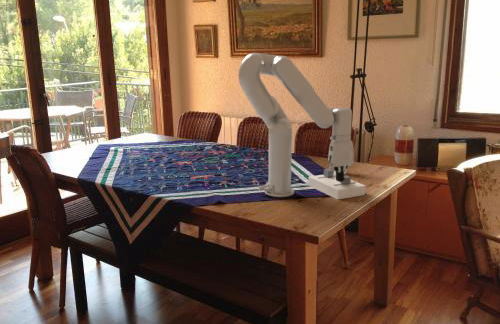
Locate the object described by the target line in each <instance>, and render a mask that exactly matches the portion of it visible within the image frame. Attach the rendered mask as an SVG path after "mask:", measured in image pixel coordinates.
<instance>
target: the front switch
mask: <svg viewBox="0 0 500 324" xmlns="http://www.w3.org/2000/svg"><path fill="white" fill-rule="evenodd" d="M351 180H352V177H351V176H349V175H347V174H345V175H344V181H343V182H342V181H341V182H340V183H342V184H351Z"/></svg>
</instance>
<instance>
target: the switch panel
mask: <svg viewBox="0 0 500 324" xmlns="http://www.w3.org/2000/svg"><path fill="white" fill-rule="evenodd" d="M307 178H308V181H307V185H308V186H309V187H311V188H313V189H315V190H317V191H319V192H321V193H323V194H325V195H327V196H330V197H332V198H334V199H335V200H342V199H347V198H348V199H350V198H353V197H354V198H355V197H360V196H366V188H367V187H366V184H365V185H364V184H363V183H360V182H358V181H355V180H353V179H351V184H342V183H340V182H339V181H336V174H335V173H334V175H333V177H326V176H324V174H319V175H311V176H308V177H307Z"/></svg>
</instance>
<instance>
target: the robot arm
mask: <svg viewBox="0 0 500 324" xmlns="http://www.w3.org/2000/svg"><path fill="white" fill-rule="evenodd" d="M237 74H238V82H239V85H240V87H241V89H242V91H243V93H244V95H245V96H246V97H247V99H248V101H249V103H250V104H251V106H252V108H253V110H254V111H255V113H256V115H257V116H258V117H259V119H261V120H263V122H264V124H265V125H266V127H267V128H268V181H266V183H265V184H264V185H258V186H257V190H258V191H264V194H265V195H267V196H270V197H274V198H275V197H276V198H286V197H291V196H293V195H294V194H295V189H294V188H292V187H291V186H292V185H291V184H292V153H293V152H292V147H293V146H292V145H293V127H292V124H291V123H292V122H291V121H290V119H289V118H288V116H287V115H286V113H285V111H284V110H283V108H282V107H281V105H280V103H279V101H278V100H277V99H276V98H275V96H273V95H271V94H270V92H269V90H268V89H267V88H266V85H265V84H264V82H263V80H262V79H261V75H264V76H266V75H267V76H272V77H273V76H274V77H276V78H277V80H279V82H280V83H281V84H282V85H283V86H284V88H285V89H286V90H287V91H288V93H290V95H291V96H292V98H294V100H295V101H296V102H297V103H298V104H299V105H300V106H301V107H302V108H303V110H304V111H305V112H306V113H307V115H308V116H309V117H310V118H311V119H312V120H313V122H314V123H315V124H316V125H317V126H318V127H319V128H322V129H328V128H330V127H332V131H331V136H330V137H329V140H331V141H330V142H329V143H330V144H329V148H328V149H329V150H328V157H327V158H328V160H327V161H328V169H331V170H335V171H336V181H339V182H341V181H342V182H343V181H344V176H345V175H344V172H345V171H346V172H347V169H348V168H349V167H352V166H353V164H354V162H355V161H354V159H355V154H354V150H355V149H354V144H353V143H354V142H353V141H352V140H351V139H352V120H353V119H352V117H353V116H352V114H353V111H352V109H351V108H349V107H330V106H327V105H326V103H325V102H324V101H323V99H322V98H321V97H320V96H319V95H318V93H317V92H316V90H315V89H314V87H313V86H312V84H311V83H310V82H309V80H308V79H307V78H306V77H305V76H304V74H303V73H302V72H301V71H300V70H299V68H298V67H297V66H296V64H295V63H294V62H293V61H292V60H291V59H290V57H288V56H286V55H275V54H267V53H259V52H252V53H248V54H247V55H246V56H245V57H244V59H242V61H241V64H240V66H239V68H238V73H237Z"/></svg>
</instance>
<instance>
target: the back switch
mask: <svg viewBox="0 0 500 324" xmlns="http://www.w3.org/2000/svg"><path fill="white" fill-rule="evenodd" d="M323 175H324V176H326V177H333V175H334V169H330V168H326V169H323Z"/></svg>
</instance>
